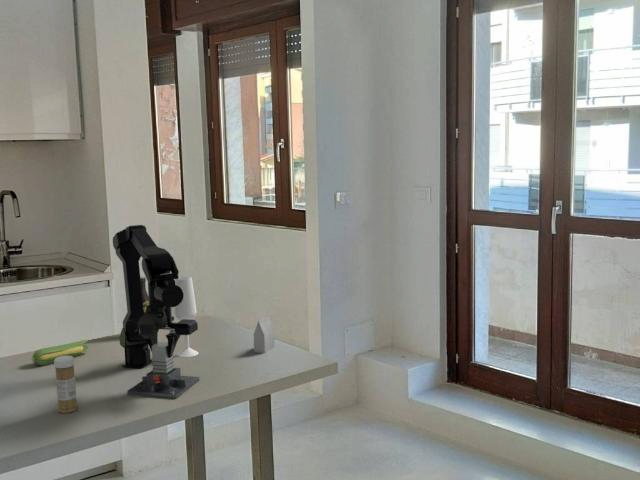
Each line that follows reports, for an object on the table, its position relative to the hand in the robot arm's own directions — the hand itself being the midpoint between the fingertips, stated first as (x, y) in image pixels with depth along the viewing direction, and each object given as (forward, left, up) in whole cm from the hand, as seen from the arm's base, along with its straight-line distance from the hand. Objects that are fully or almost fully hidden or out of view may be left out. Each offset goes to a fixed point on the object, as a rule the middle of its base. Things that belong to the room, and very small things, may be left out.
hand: (162, 357), depth 190 cm
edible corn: (-42, +17, -9) cm, 47 cm away
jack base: (0, 0, -8) cm, 8 cm away
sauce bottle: (-32, +46, -9) cm, 57 cm away
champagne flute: (-7, +29, -9) cm, 31 cm away
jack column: (0, 0, -4) cm, 4 cm away
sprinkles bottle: (-16, -20, -9) cm, 27 cm away
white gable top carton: (+15, +38, -9) cm, 42 cm away
